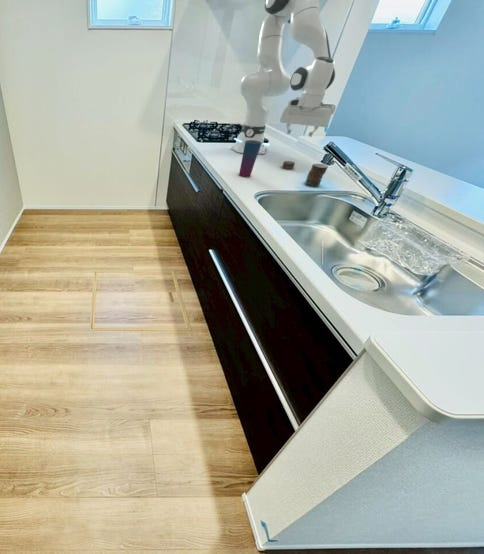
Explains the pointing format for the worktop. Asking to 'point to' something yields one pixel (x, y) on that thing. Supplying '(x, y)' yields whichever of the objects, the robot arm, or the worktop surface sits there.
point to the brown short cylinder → (288, 165)
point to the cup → (249, 157)
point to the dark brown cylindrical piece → (315, 175)
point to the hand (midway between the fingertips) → (299, 135)
